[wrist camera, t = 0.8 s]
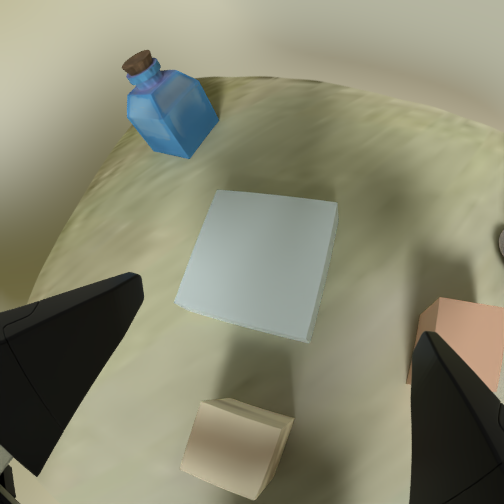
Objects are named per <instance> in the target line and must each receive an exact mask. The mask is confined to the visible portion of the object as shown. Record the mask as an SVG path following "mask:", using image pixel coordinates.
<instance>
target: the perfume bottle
mask: <svg viewBox="0 0 504 504" xmlns="http://www.w3.org/2000/svg"><path fill="white" fill-rule="evenodd" d="M122 68H123V70H125V71H126V72H127V73H128V74H127V78H128V80H129V81H130V83H131V84H132V85H136V87H135V88H134V89H133V90H132V91H131V92H130V93H129V94H128V96H127V99H128V100H127V118H128V119H129V120H130V122H131V123H132V124H133V126H134V127H135V128H136V129H137V131H138V132H139V133H140V134H141V136H142V137H143V138H144V139H145V141H146V142H147V143H148V145H149V146H150V147H151V148H152V150H153V151H155V152H160V153H165V154H170V155H174V156H179V157H183V158H188V159H190V158H191V157H192V155H193V154H194V152H195V151H196V150H197V148H198V147H199V146H200V144H201V143H202V142H203V140H204V139H205V138H206V137H207V135H208V134H209V133H210V131H211V130H212V129H213V127H214V126H215V125H216V124H217V122H218V121H219V119H218V117H217V115H216V113H215V111H214V109H213V107H212V105H211V103H210V101H209V100H208V98H207V96H206V94H205V92H204V90H203V88H202V86H201V84H200V82H199V81H198V80H196V79H194V78H192V77H190V76H187V75H186V74H183V73H181V72H179V71H177V70H164V71H160V64H159V62H158V61H157V59H156V58H152V57H151V53H150V51H149V50H144V51H141V52H139V53H137V54H135V55H134V56H132V57H131V58H129V59H128V60H127V61H126V62H125V63H124V64H123V66H122Z"/></svg>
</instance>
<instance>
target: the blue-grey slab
mask: <svg viewBox="0 0 504 504" xmlns="http://www.w3.org/2000/svg"><path fill="white" fill-rule="evenodd" d="M338 220H339V218H338V204H337V202H330V201H323V200H315V199H307V198H299V197H290V196H281V195H272V194H262V193H252V192H241V191H229V190H217V191H216V193H215V196H214V198H213V201H212V203H211V206H210V208H209V211H208V213H207V216H206V218H205V221H204V223H203V226H202V228H201V231H200V233H199V236H198V239H197V241H196V244H195V247H194V249H193V252H192V254H191V257H190V260H189V262H188V265H187V268H186V271H185V273H184V276H183V279H182V282H181V284H180V287H179V290H178V293H177V296H176V298H175V301H174V303H175V304H177V305H179V306H181V307H183V308H185V309H186V310H188V311H191V312H194V313H198V314H201V315H204V316H208V317H211V318H214V319H218V320H221V321H225V322H228V323H232V324H235V325H239V326H242V327H246V328H250V329H254V330H257V331H261V332H265V333H269V334H273V335H277V336H281V337H285V338H289V339H293V340H297V341H301V342H306V343H310V341H311V337H312V334H313V330H314V326H315V322H316V319H317V315H318V311H319V307H320V303H321V299H322V295H323V290H324V286H325V282H326V278H327V273H328V269H329V264H330V260H331V255H332V250H333V246H334V241H335V236H336V231H337V226H338Z"/></svg>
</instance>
